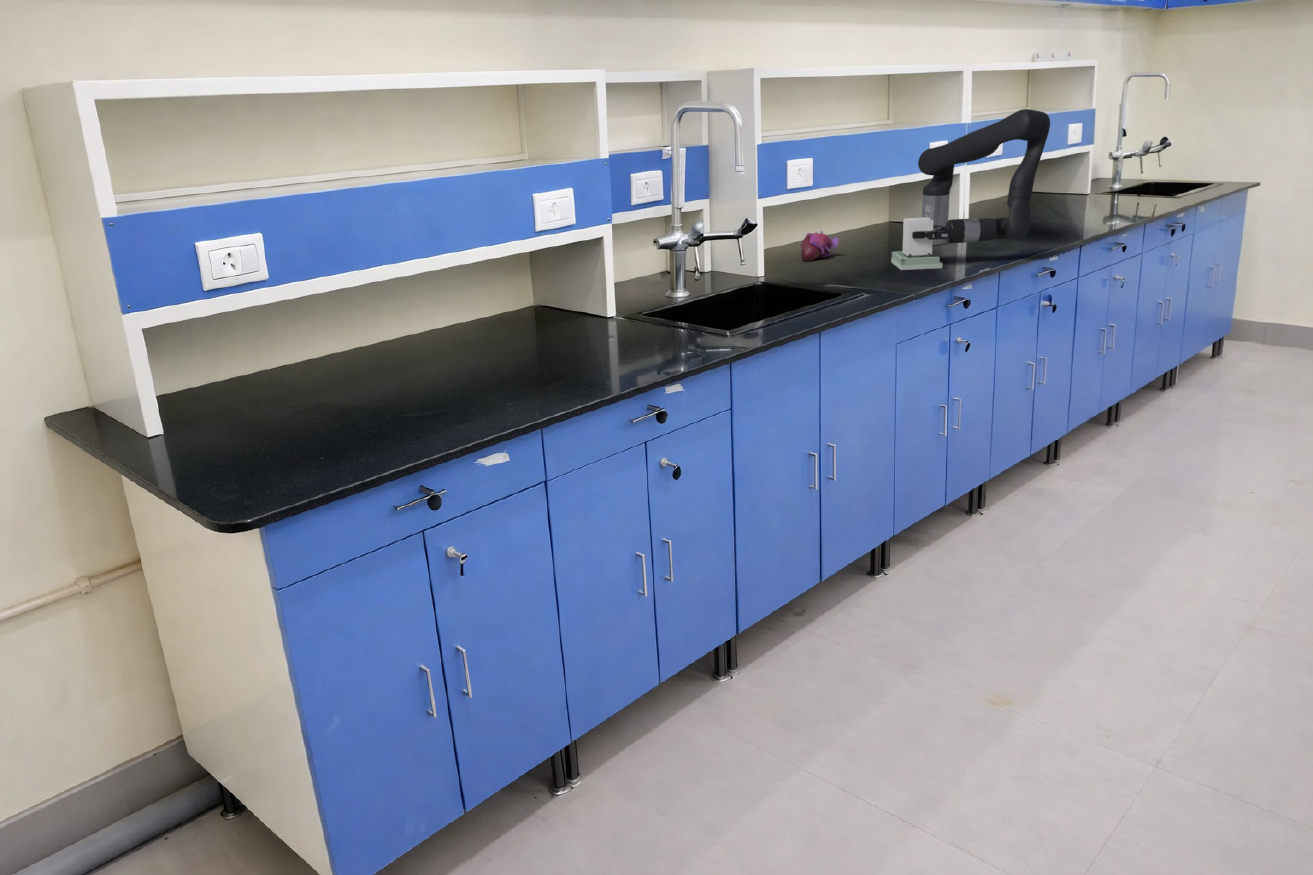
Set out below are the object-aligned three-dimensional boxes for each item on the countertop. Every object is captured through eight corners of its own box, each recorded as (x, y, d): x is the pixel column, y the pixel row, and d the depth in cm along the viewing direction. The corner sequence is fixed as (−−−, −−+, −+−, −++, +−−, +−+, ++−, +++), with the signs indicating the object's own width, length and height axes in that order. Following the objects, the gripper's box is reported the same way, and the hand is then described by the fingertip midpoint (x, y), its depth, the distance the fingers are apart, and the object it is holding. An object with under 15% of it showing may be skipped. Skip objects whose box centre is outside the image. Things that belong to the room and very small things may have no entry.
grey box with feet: (902, 255, 319) (903, 205, 313) (926, 254, 319) (928, 204, 313) (906, 259, 313) (908, 208, 307) (932, 257, 313) (934, 206, 307)
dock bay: (891, 262, 323) (891, 251, 322) (930, 260, 323) (931, 249, 322) (901, 270, 310) (901, 259, 309) (942, 268, 310) (942, 257, 309)
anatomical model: (805, 262, 329) (846, 251, 332) (799, 234, 328) (840, 223, 331) (794, 265, 341) (834, 255, 343) (788, 239, 340) (827, 228, 342)
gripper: (957, 216, 318) (905, 218, 319) (970, 222, 305) (916, 225, 305) (955, 239, 321) (904, 242, 321) (968, 246, 307) (915, 249, 308)
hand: (910, 233), depth 313 cm, fingers closed on grey box with feet, 6 cm apart
